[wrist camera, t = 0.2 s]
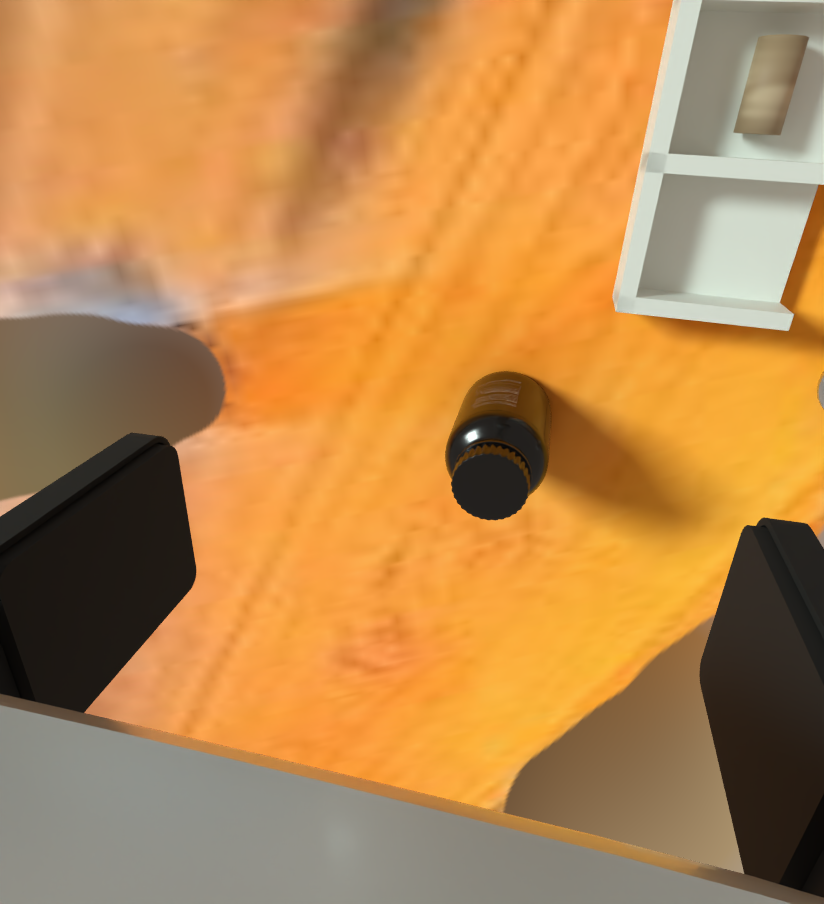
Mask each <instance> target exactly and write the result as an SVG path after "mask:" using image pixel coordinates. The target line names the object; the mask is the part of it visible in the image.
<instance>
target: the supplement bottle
mask: <svg viewBox="0 0 824 904" xmlns="http://www.w3.org/2000/svg"><path fill="white" fill-rule="evenodd" d="M550 430H551V407H550V403H549V400H548V397H547V395H546V393H545V392H544V390H543V389H542V388H541V387H540V386H539V385H538V384H537V383H536V382H535V381H534V380H532V379H531V378H529V377H527V376H525V375H523V374H520V373H516V372H508V371H503V372H496V373H492V374H489V375H487V376H485V377H483V378H481V379H480V380H478V381H477V382H476V383H475V384H474V385H473V386H472V387H471V388H470V389H469V391H468V392H467V394H466V396H465V398H464V400H463V403H462V405H461V408H460V411H459V413H458V416H457V418H456V421H455V423H454V426H453V428H452V431H451V434H450V436H449V439H448V442H447V446H446V451H445V461H446V466H447V470H448V472H449V475H450V477H451V479H452V482H451V485H452V492H453V493H454V498H455V499H456V500H457V503H458V504H459V505H461V508H462V509H464V510H466V512H467V513H469V514H472V515H473V516H475V517H479V518H480V519H486V520H498V519H504V518H506V517H510V516H511V515H513V514H516V513H517V511H518V510H520V509H521V508H522V506H523V505H524V504H525V503H526V499H527V498H528V496H529V495H530V494H532V493H533V492H534V491H535V490H536V489H537V488H538V487H539V486H540V484H541V483H542V481H543V479H544V477H545V475H546V472H547V468H548V461H549V446H550Z"/></svg>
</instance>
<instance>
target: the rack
mask: <svg viewBox="0 0 824 904" xmlns="http://www.w3.org/2000/svg"><path fill="white" fill-rule="evenodd" d="M776 34H792V35H803V36H808V37H809V40H808V43H807V47H806V50H805V54H804V57H803V60H802V64H801V67H800V71H799V74H798V77H797V81H796V84H795V88H794V91H793V94H792V98H791V101H790V105H789V108H788V111H787V115H786V118H785V122H784V125H783V128H782V132H781V135H759V134H742V133H733V132H734V128H735V124H736V120H737V116H738V113H739V109H740V105H741V101H742V97H743V94H744V90H745V86H746V82H747V78H748V75H749V71H750V67H751V63H752V59H753V55H754V52H755V48H756V44H757V40H758V37H760V36H765V35H776ZM819 184H821V185H824V0H673V4H672V9H671V14H670V19H669V24H668V28H667V33H666V38H665V43H664V48H663V53H662V58H661V63H660V67H659V72H658V77H657V82H656V87H655V92H654V97H653V102H652V106H651V111H650V116H649V121H648V126H647V131H646V136H645V141H644V145H643V150H642V155H641V160H640V165H639V170H638V175H637V180H636V184H635V189H634V194H633V199H632V204H631V209H630V214H629V219H628V223H627V228H626V233H625V238H624V243H623V248H622V253H621V258H620V262H619V267H618V272H617V277H616V282H615V287H614V292H613V302H614V306H615V310H616V312H623V313H632V314H641V315H650V316H659V317H668V318H677V319H686V320H695V321H704V322H713V323H722V324H731V325H740V326H749V327H758V328H767V329H776V330H785V331H789V328H790V325H791V322H792V319H793V316H794V314H793V313H792V312H791V311H789V310H788V309H787V308H786V307H784V306H783V305H782V304H781V303H780V300H781V297H782V294H783V291H784V288H785V285H786V282H787V279H788V276H789V273H790V270H791V267H792V264H793V261H794V258H795V255H796V252H797V249H798V246H799V243H800V240H801V237H802V234H803V231H804V228H805V224H806V221H807V218H808V215H809V212H810V209H811V206H812V203H813V200H814V197H815V194H816V191H817V188H818V185H819Z"/></svg>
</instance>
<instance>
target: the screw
mask: <svg viewBox="0 0 824 904" xmlns="http://www.w3.org/2000/svg"><path fill="white" fill-rule="evenodd" d="M817 398H818V400H819V403H820V405H821V406H822V407H823V409H824V372H823V373H822V375H821V377H820V379H819V382H818V386H817Z"/></svg>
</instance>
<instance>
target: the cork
mask: <svg viewBox="0 0 824 904" xmlns="http://www.w3.org/2000/svg"><path fill="white" fill-rule="evenodd" d="M808 40H809V37H808V36H803V35H792V34H776V35H765V36H760V37H758V40H757V44H756V48H755V52H754V55H753V59H752V63H751V67H750V71H749V75H748V78H747V82H746V86H745V90H744V94H743V97H742V101H741V105H740V109H739V113H738V116H737V120H736V124H735V128H734V132H733V133H742V134H759V135H781V132H782V128H783V125H784V122H785V118H786V115H787V111H788V108H789V105H790V101H791V98H792V94H793V91H794V88H795V84H796V81H797V77H798V74H799V71H800V67H801V64H802V60H803V57H804V54H805V50H806V47H807V43H808Z"/></svg>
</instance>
